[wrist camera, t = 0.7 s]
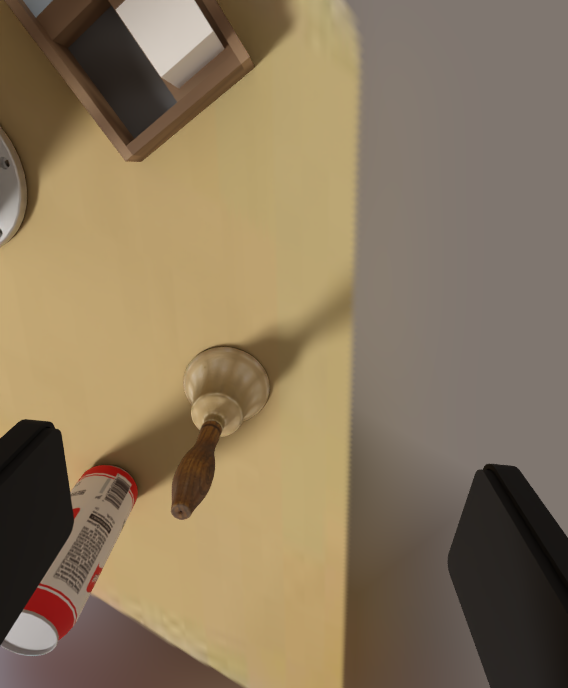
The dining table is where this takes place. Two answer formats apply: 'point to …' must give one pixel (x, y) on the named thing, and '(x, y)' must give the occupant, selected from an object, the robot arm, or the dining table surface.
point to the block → (172, 36)
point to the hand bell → (215, 416)
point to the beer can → (75, 560)
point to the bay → (37, 5)
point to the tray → (129, 71)
